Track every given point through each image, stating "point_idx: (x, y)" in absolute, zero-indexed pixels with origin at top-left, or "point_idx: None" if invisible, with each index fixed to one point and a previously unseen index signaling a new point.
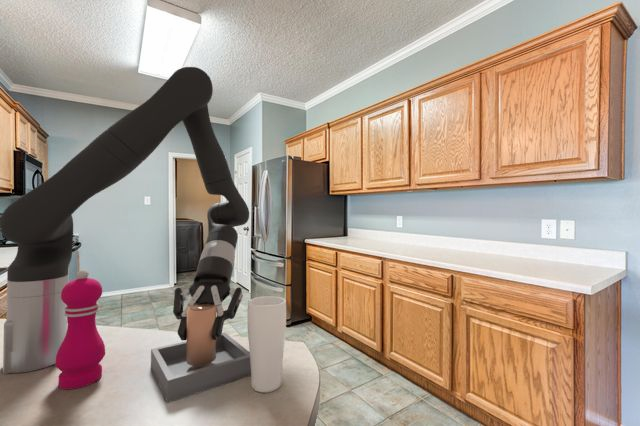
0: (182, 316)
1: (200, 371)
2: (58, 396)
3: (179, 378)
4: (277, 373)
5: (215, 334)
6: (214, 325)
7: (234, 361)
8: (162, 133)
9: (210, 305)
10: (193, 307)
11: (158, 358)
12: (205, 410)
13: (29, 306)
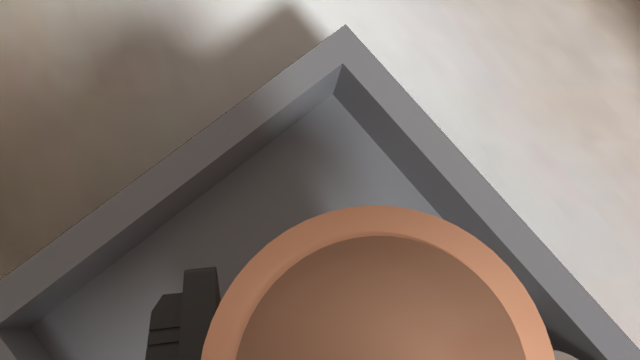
0: (561, 353)
1: (225, 114)
2: None
3: (305, 55)
4: None
5: (185, 275)
6: (205, 323)
7: (61, 236)
8: None
9: None
10: (479, 352)
11: (536, 251)
12: (157, 25)
13: None
